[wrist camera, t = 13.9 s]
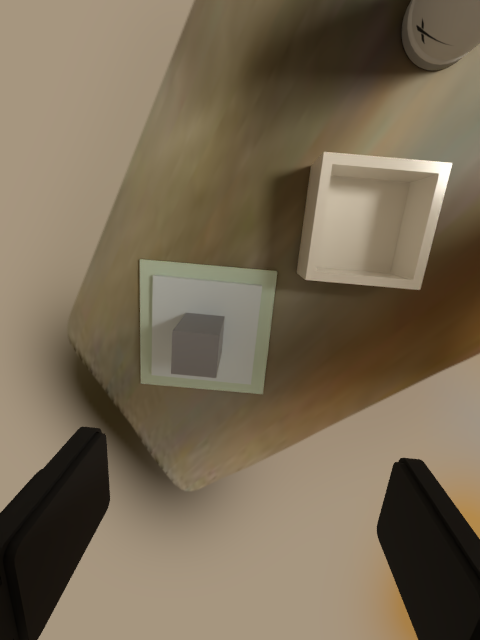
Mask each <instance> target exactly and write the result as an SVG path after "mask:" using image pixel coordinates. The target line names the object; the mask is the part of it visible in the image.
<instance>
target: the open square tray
mask: <svg viewBox="0 0 480 640" xmlns="http://www.w3.org/2000/svg"><path fill="white" fill-rule="evenodd" d="M451 167H452V163H446V162H434V161H423V160H412V159H400V158H389V157H378V156H366V155H355V154H344V153H332V152H323V153H322V154H321V155H320V157H319V158H318V159H317V160H316V161H315V162H314V163H313V164H312V165H311V169H310V176H309V183H308V191H307V198H306V206H305V213H304V220H303V228H302V235H301V242H300V250H299V257H298V265H297V272H296V273H297V274H299V275H300V276H301V277H302V278H304V279H305V280H312V281H323V282H334V283H346V284H357V285H369V286H380V287H392V288H403V289H415V290H420V289H421V285H422V281H423V277H424V273H425V269H426V265H427V261H428V257H429V253H430V249H431V245H432V242H433V238H434V234H435V230H436V226H437V222H438V218H439V214H440V210H441V206H442V202H443V198H444V194H445V190H446V186H447V182H448V178H449V174H450V170H451Z"/></svg>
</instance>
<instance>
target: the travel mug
mask: <svg viewBox="0 0 480 640" xmlns="http://www.w3.org/2000/svg"><path fill="white" fill-rule="evenodd" d="M402 42H403V46H404V49H405V52H406V54H407V55H408V57H409V59H410V60H411V61H412V62H413V63H414V64H416V65H417V66H418V67H420V68H423V69H426V70H433V71H434V70H441V69H444V68H447V67H449V66H451V65H453V64H455V63H456V62H457V61H459V60H460V59H461V58H462V57H463V56H465V55H466V54H467V53H468V52H470V51H471V50H472V49H473V48H474V47H476V46H477V45H478V44H479V43H480V0H411V2H410V4H409V5H408V7H407V9H406V12H405V15H404V18H403V23H402Z"/></svg>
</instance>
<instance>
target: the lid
mask: <svg viewBox="0 0 480 640" xmlns="http://www.w3.org/2000/svg"><path fill="white" fill-rule="evenodd" d="M261 293H262V285H258V284H248V283H238V282H227V281H217V280H207V279H196V278H186V277H176V276H165V275H153V299H152V374H151V375H155V376H166V377H176V378H186V379H197V380H207V381H218V382H228V383H239V384H249V385H251V380H252V371H253V362H254V354H255V345H256V336H257V328H258V319H259V310H260V302H261Z"/></svg>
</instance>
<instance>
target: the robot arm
mask: <svg viewBox="0 0 480 640" xmlns="http://www.w3.org/2000/svg"><path fill="white" fill-rule="evenodd" d="M109 501H110V491H109V475H108V459H107V444H106V435H105V434H103V433H102V432H101V430H100V429H99V428H90V427H81V428H80V429H78V430H77V432H76V433H75V434H74V435H73V436H72V437H71V438H70V439H69V440H68V441H67V443H66V444H65V445H64V446H63V447H62V448H61V449H60V450H59V452H58V453H57V454H56V455H55V456H54V457H53V458H52V460H50V462H49V463H48V464H47V465H46V466H45V467H44V468H43V469H41V470H40V471H39V472H38V473H36V475H34V477H33V478H32V479H31V480H30V481H29V482H28V483H27V484H26V485H25V486H24V488H23V489H22V490H21V491H20V492H19V493H18V494H17V495H16V496H15V498H14V499H13V500H12V501H11V502H10V503H9V504H8V505H7V506H6V507H5V509H4V510H3V511H2V512H1V513H0V640H37V639H38V638H39V636H40V635H41V633H42V631H43V629H44V627H45V625H46V623H47V622H48V620H49V618H50V616H51V614H52V612H53V610H54V608H55V606H56V605H57V603H58V601H59V599H60V597H61V595H62V593H63V591H64V590H65V588H66V586H67V584H68V582H69V580H70V578H71V576H72V574H73V573H74V570H75V569H76V567H77V565H78V563H79V561H80V560H81V557H82V556H83V554H84V552H85V550H86V548H87V546H88V544H89V543H90V541H91V539H92V537H93V535H94V533H95V531H96V529H97V528H98V526H99V524H100V522H101V520H102V518H103V516H104V515H105V513H106V511H107V509H108V506H109ZM377 535H378V538H379V542H380V544H381V547H382V549H383V551H384V554H385V556H386V559H387V561H388V564H389V567H390V569H391V572H392V574H393V577H394V579H395V582H396V584H397V587H398V589H399V592H400V594H401V597H402V600H403V602H404V604H405V607H406V609H407V612H408V614H409V617H410V620H411V622H412V625H413V627H414V630H415V632H416V635H417V637H418V640H480V539H479V538H478V537H477V535H476V534H475V532H474V531H473V529H472V528H471V527H470V525H469V524H468V523H467V521H466V520H465V518H464V517H463V516H462V514H461V513H460V511H459V510H458V509H457V508H456V506H455V505H454V503H453V502H452V500H451V499H450V498H449V496H448V495H447V493H446V492H445V491H444V489H443V488H442V487H441V485H440V484H439V482H438V481H437V480H436V478H435V477H434V476H433V474H432V473H431V471H430V470H429V469H428V468H427V466H426V465H425V463H424V462H423V461H422V460H419V459H409V458H401V459H400V460H399V462H395V463H394V465H393V468H392V472H391V476H390V480H389V483H388V487H387V490H386V494H385V498H384V501H383V505H382V509H381V513H380V516H379V520H378V524H377Z"/></svg>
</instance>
